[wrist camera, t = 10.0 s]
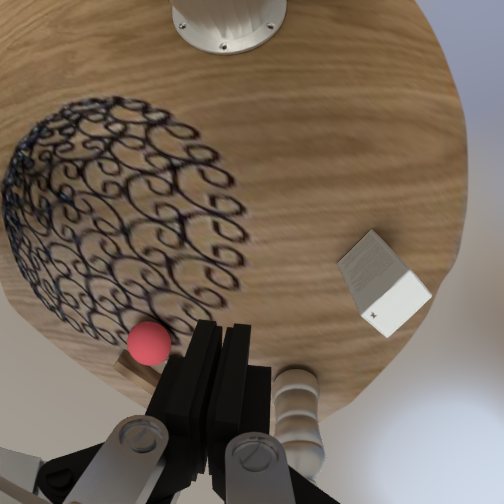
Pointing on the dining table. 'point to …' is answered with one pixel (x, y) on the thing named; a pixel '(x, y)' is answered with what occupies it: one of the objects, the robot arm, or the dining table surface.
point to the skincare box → (382, 284)
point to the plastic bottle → (299, 421)
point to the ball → (149, 343)
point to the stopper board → (137, 372)
